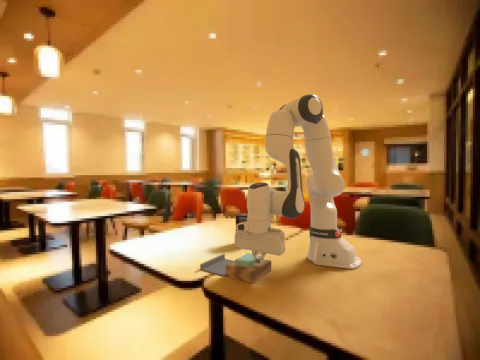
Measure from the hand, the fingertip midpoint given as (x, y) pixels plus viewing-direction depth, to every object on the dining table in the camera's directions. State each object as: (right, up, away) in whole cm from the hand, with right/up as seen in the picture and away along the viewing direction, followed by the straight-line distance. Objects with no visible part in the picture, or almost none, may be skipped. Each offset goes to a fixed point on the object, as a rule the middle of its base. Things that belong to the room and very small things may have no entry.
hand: (259, 262), depth 104 cm
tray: (-14, -5, +10) cm, 18 cm away
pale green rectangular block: (-4, -1, +3) cm, 5 cm away
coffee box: (-5, -3, +42) cm, 43 cm away
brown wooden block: (-4, -5, +3) cm, 7 cm away
